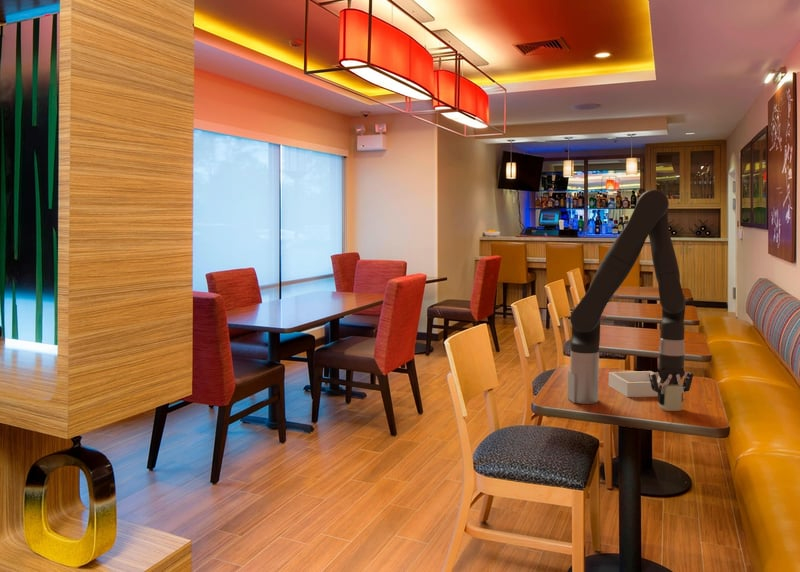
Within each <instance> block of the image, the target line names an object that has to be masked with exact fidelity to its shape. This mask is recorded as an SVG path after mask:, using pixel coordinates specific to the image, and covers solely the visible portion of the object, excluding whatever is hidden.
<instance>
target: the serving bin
mask: <svg viewBox="0 0 800 572" xmlns="http://www.w3.org/2000/svg"><path fill="white" fill-rule="evenodd" d="M649 373H655V372H654V371H652V370H647V371H646V370H642V371H640V370H639V371H609V372H608V387H610V388H611V389H613V390H615V391H616V392H618V393H620V394H621V395H623V396H625V397H626V398H646V397H658V392H655V391H654V390H652V387H651V382H650V378H649ZM660 379H661V378H660V377H659V376H658V379H657V383H658V387H659V382H660Z"/></svg>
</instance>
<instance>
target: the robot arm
mask: <svg viewBox="0 0 800 572" xmlns="http://www.w3.org/2000/svg"><path fill="white" fill-rule="evenodd" d="M669 203H670V202H669V197H667V195H666V194H665V192H663V191H661V190H658V189H650V190H649V189H648V190H647V191H646V190H645V192H642V194H641V195H640V196H639V198H638V200H637V202H636V204H635V207H634V209H633V211H632V214H631V215H630V218H629V220H628V221H627V223H626V224H625V227H624V228H623V230H621V232H620V233H619V234H618V236H617V237H616V238H615V240H614V241H613V243H612V244H611V246H610V247H609V249H608V250H607V252H606V253H605V255H604V257H603V259H602V261H601V262H600V264H599V266H598V268H597V270H596V272H595V275H594V276H593V279H592V282H591V283H590V286H589V288H588V290H587V291H586V293H585V295H583V297H582V298H581V299H580V300H579V303H578V304H576V306H575V307H574V309H572V311H571V313H570V317H569V318H570V319H569V321H570V323H571V340H570V358H569V359H570V360H569V361H570V362H569V363H570V366H569V367H570V370H569V371H568V373H567V375H568V376H567V399H568V401H570V402H572V404H581V405H582V404H583V405H593V404H596V403H598V402H599V378H600V377H599V374H600V367H599V366H600V342H601V338H600V337H601V317H602V315H603V313H604V310H605V308H606V307H607V305H608V303H609V301H610V300H611V298H612V297H613V295H614V294H615V293H616V292H617V290H619V288H620V287H621V286H622V285H623V283H624V281H625V279H626V278H627V277H628V276H629V274H630V272H631V270H632V269H633V267H634V266H635V264H636V262H637V261H638V258H639V256H640V254H641V251H642V249H643V247H644V246H645V245H644V244H645V242H646V240H647V238H649V243H650V252H651V259H652V263H653V264H652V265H653V268H654V274H655V278H656V279H655V280H656V281H657V287H658V294H659V296H658V297H659V301H660V306H661V323H660V333H659V334H660V337H659V343H658V345H659V347H658V370H657V371H655V372H654V373H649V378H650V382H651V387H652V390H654V391H655V392H658V396H657V403H658V405H659V404H661V405H664V395H665V394H664V392H665V387H666V386H668V384H678V385H681V386H682V403H683V401H684V400H683V399H684V393H685V392H689V391H690V389H691V385H692V382H693V377H694V374H693V373H691V372H690V371H687V372H686V371H685V369H684V368H685V354H686V353H685V349H686V348H685V347H686V345H685V316H686V315H685V313H686V300H687V299H686V296H685V294H684V292H683V289H682V285H681V281H680V280H681V276H680V268H679V264H678V259H677V254H676V252H675V248H674V245H673V242H672V238H671V233H670V227H669V219H668V218H669V217H668V216H669V213H668V212H669V211H668V210H669V205H670V204H669ZM658 376H659V377H660V378H661V379H660V382H659V387H658V383H657V379H658ZM683 378H684V379H683ZM682 379H683V381H682Z"/></svg>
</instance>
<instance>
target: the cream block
mask: <svg viewBox="0 0 800 572" xmlns="http://www.w3.org/2000/svg"><path fill="white" fill-rule="evenodd" d="M664 394H665V395H664V405H661V404H659V403H658V407H659V408H660V409H662V410H664V411H666V412H669V411H670V412H671V411H675V412H676V411H678V412H679V411H682V405H683V404H682V403H683V402H682V386H681V385H678V384H668V386H666V387H665V392H664Z"/></svg>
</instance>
